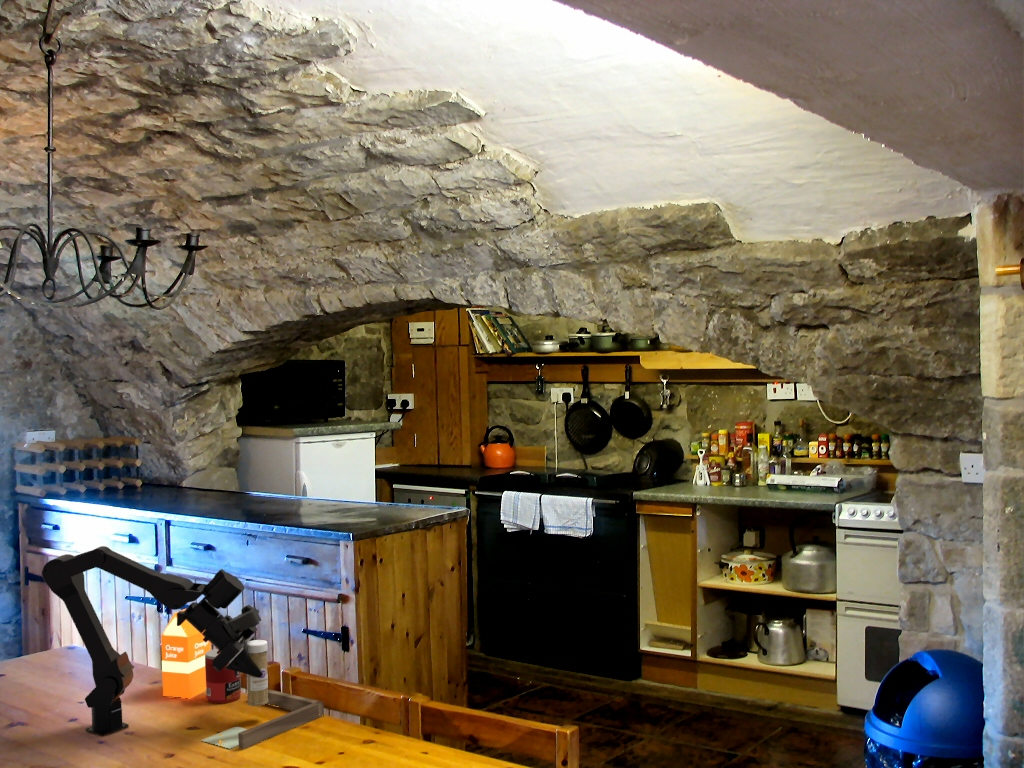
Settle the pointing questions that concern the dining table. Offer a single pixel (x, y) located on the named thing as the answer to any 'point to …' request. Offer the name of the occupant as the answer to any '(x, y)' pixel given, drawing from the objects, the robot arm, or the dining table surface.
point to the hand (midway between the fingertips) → (263, 672)
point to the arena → (272, 721)
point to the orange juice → (183, 659)
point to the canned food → (221, 681)
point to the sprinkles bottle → (254, 684)
